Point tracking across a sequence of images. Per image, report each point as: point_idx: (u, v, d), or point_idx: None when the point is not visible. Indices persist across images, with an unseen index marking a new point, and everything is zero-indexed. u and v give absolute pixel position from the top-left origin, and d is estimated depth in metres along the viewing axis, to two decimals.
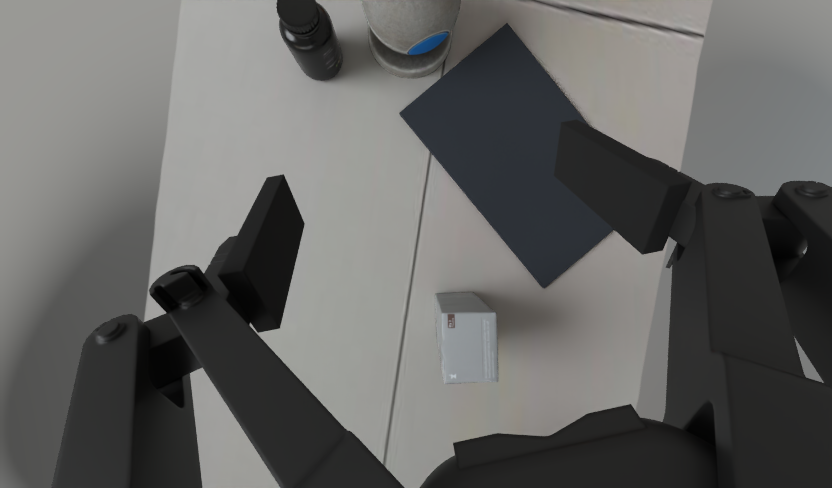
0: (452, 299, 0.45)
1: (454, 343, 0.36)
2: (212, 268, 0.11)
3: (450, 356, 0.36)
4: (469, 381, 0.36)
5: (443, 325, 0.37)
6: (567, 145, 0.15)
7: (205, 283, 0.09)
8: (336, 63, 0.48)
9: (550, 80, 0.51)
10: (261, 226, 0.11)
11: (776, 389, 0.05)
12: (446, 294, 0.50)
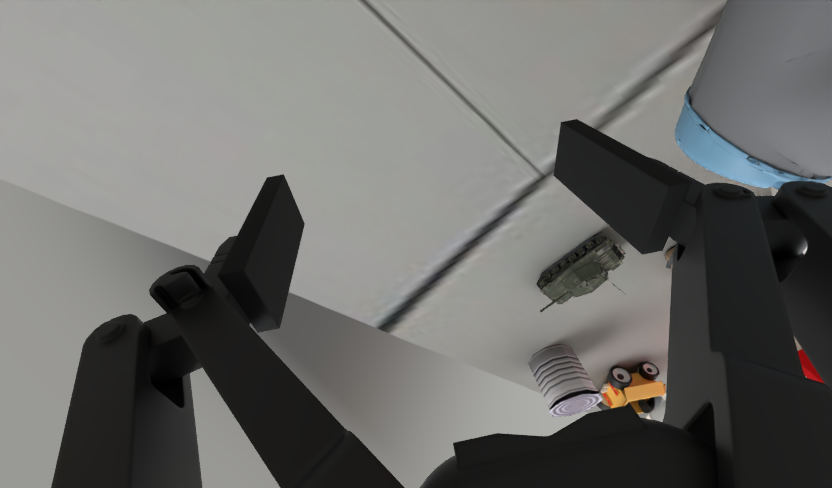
0: None
1: None
2: (212, 268, 0.11)
3: None
4: None
5: None
6: (567, 145, 0.15)
7: (205, 284, 0.09)
8: None
9: None
10: (261, 226, 0.11)
11: (776, 389, 0.05)
12: None
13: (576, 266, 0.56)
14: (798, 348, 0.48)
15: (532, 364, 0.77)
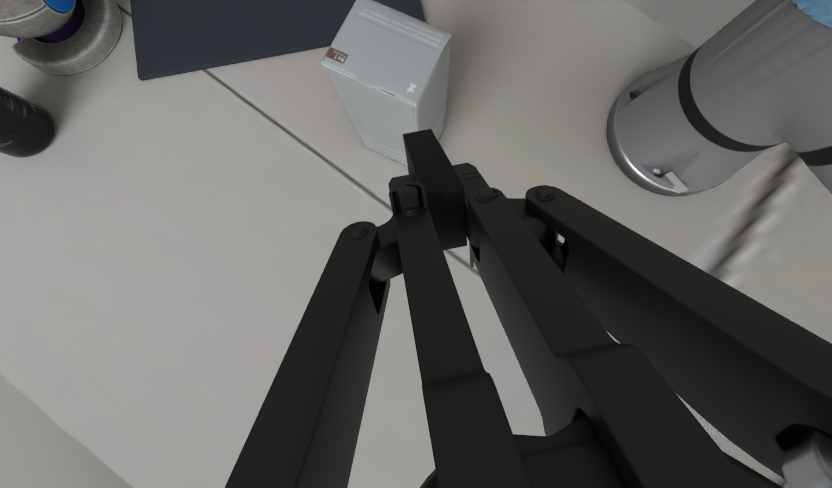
0: None
1: (367, 64, 0.24)
2: None
3: (382, 78, 0.23)
4: (430, 70, 0.23)
5: (336, 68, 0.24)
6: None
7: (423, 202, 0.11)
8: (30, 107, 0.37)
9: None
10: (431, 164, 0.13)
11: (615, 374, 0.05)
12: None
13: None
14: None
15: None
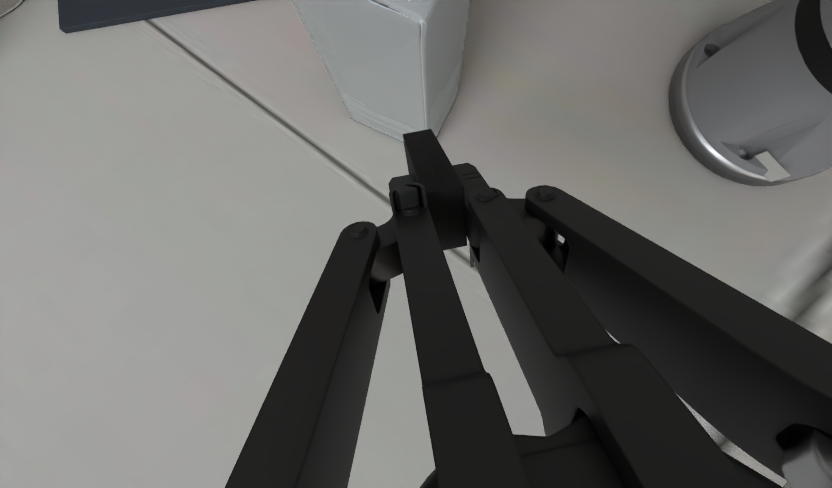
0: None
1: None
2: None
3: None
4: None
5: None
6: None
7: (423, 202, 0.11)
8: None
9: None
10: (431, 164, 0.13)
11: (615, 374, 0.05)
12: None
13: None
14: None
15: None
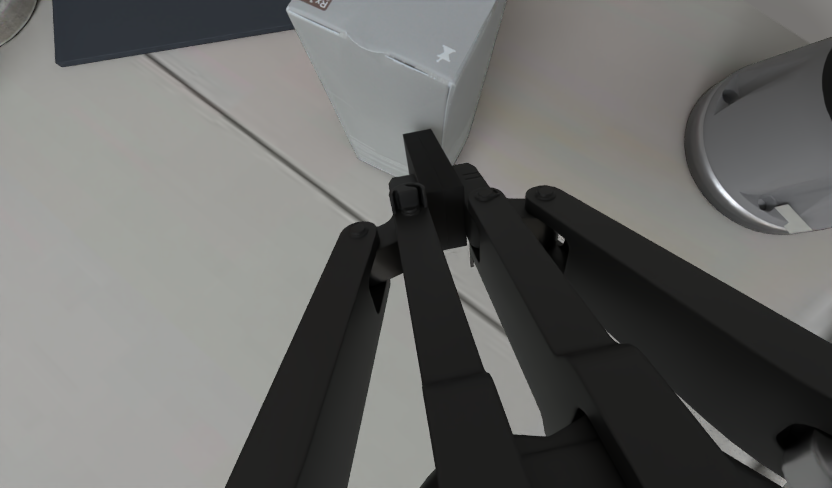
0: None
1: (368, 13, 0.13)
2: None
3: (394, 36, 0.13)
4: (479, 26, 0.13)
5: (313, 18, 0.14)
6: None
7: (424, 202, 0.11)
8: None
9: None
10: (431, 164, 0.13)
11: (615, 374, 0.05)
12: None
13: None
14: None
15: None
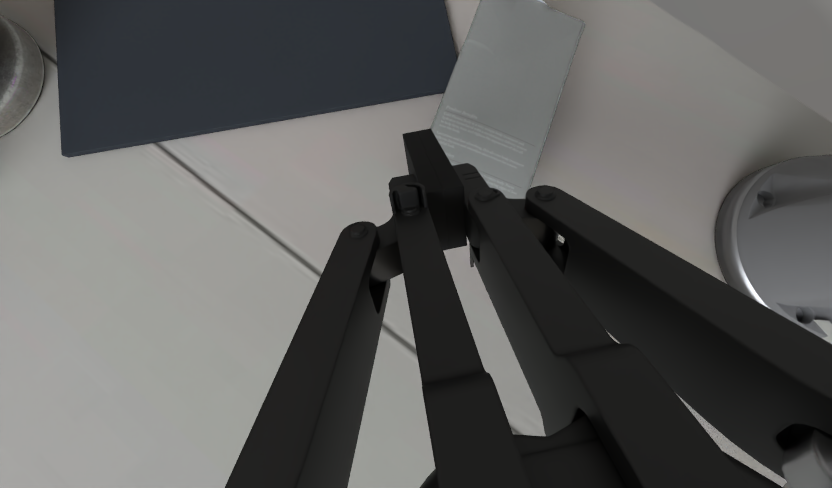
0: None
1: None
2: None
3: None
4: None
5: None
6: None
7: (424, 202, 0.11)
8: None
9: None
10: (431, 164, 0.13)
11: (615, 374, 0.05)
12: None
13: None
14: None
15: None
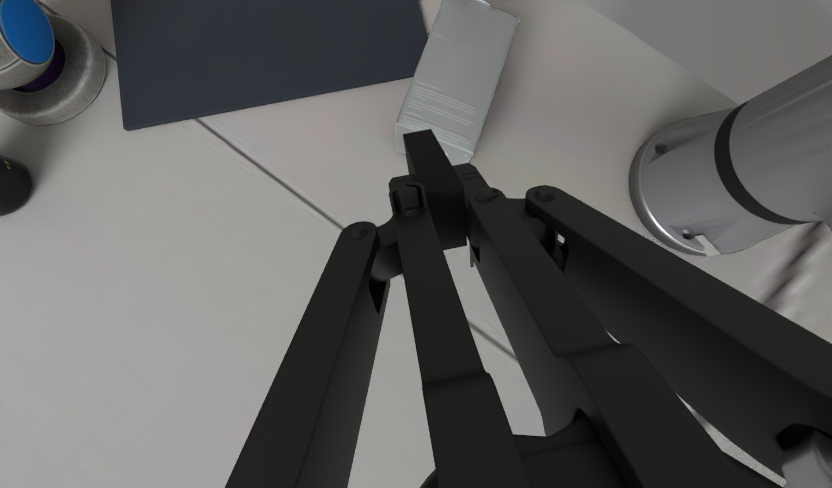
0: None
1: None
2: None
3: None
4: None
5: None
6: None
7: (423, 202, 0.11)
8: (4, 164, 0.34)
9: None
10: (431, 164, 0.13)
11: (615, 374, 0.05)
12: None
13: None
14: None
15: None
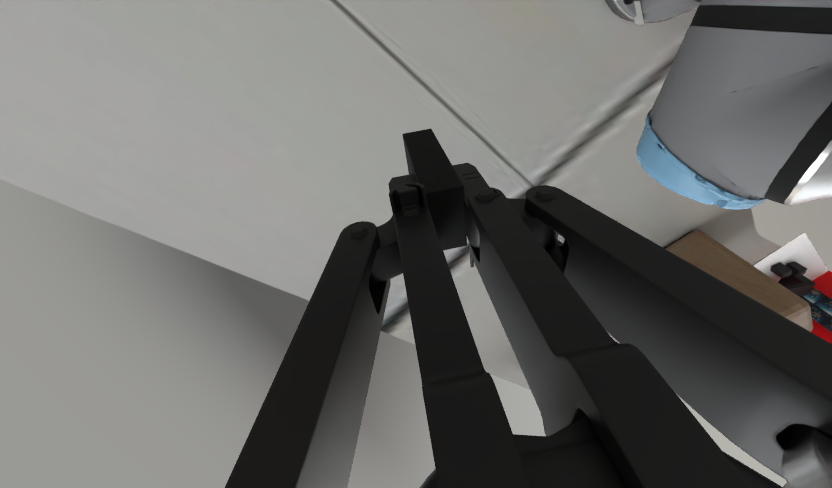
0: None
1: None
2: None
3: None
4: None
5: None
6: None
7: (423, 202, 0.11)
8: None
9: None
10: (431, 164, 0.13)
11: (615, 374, 0.05)
12: None
13: None
14: None
15: None
